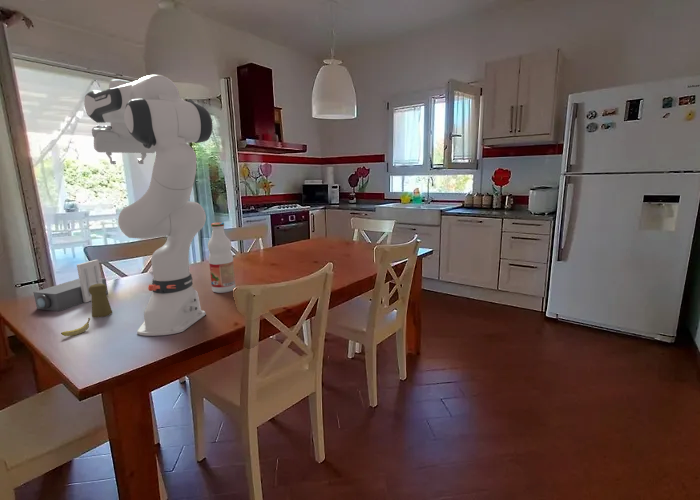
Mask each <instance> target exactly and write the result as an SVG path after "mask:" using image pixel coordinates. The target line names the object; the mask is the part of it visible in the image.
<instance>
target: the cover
mask: <svg viewBox="0 0 700 500" xmlns="http://www.w3.org/2000/svg"><path fill="white" fill-rule="evenodd" d="M76 269H77V274H78V279H79V280H80V286H81V291H82V296H83V303H89V302H92V295H91V294H90V293H89V287H90V286H91V285H94V284H103V283H102V278H103V277H102V273H101V267H100V261H99V259H94V260H90V261H85V262H82V263H77V264H76Z"/></svg>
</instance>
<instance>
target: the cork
mask: <svg viewBox="0 0 700 500" xmlns="http://www.w3.org/2000/svg"><path fill="white" fill-rule="evenodd" d="M107 290H108V286H107V287H106V285H105V284H94V285H91V286H90V287H89V293H90V294H91V295H92V301H91V317H92V318H103V317H107V316H110V315H112V314H113V310H112V308H111V305H110V301H109V299H108V296H107V294H106V291H107Z"/></svg>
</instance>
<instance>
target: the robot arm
mask: <svg viewBox="0 0 700 500" xmlns="http://www.w3.org/2000/svg"><path fill="white" fill-rule="evenodd" d="M83 101H84V102H83V105H84V110H85V111H86V114H87V116H88V117H89V118H90V119H91V120H93V122H94V123H95V122H96V123H99V124H103V123H104V124H105V123H106V124H107V123H110V125H96V126H94V127H92V129H91V134H92V137H93V148H94V150H95V151H96V152H97V153H105V154H106V155H107V157H108V159H109V161H110V165H116V163H117V161H116V159H115V158H112V155H113V154H112V153H118V154H122V153H125V154H127V153H128V154H140V155H141V157H140V158H137V161H138V162H137V163H138V164H139V165H144V160H145V158H146V157H147V154H155V159H154V164H153V167H152V174H151V178H150V183H149V186H148V189H147V190H146V192H145V193H144V194H143V195H142V196H141V197H140V198H139V199H138V200H136V201H134V202H133V203H132V204H130V205H127V206H125V207H123V208H122V209H121V211H120V213H119V215H118V217H117V218H118V219H117V221H118V227H119V229H120V231H121V232H122V234H123V235H125V236H126V237H128V238H129V239H144V240H145V239H147V240H148V239H154V238H163V237H167V239H166V241H165V243H164V244H163V245H162V246H160V247H159V248H157V249H156V250H155V251H154V252H153V253H152V254H151V258H150V263H151V269H152V276H153V279H152V282H151V284H148V286H147V287H148V289H147V290H148V291H149V292H152V294H151V295H150V298H149V300H148V303H147V305H146V308H145V310H144V312H143V317H144V318H143V319H144V321H143V322H142V323H141V325H140V326H139V327H138V329H137V330H136V332H137V333H136V334H137V335H139V336H145V337H146V336H148V337H149V336H153V337H154V336H167V335H169V336H170V335H174V334H180V333H182V332H185V330H187V329H188V328H190V327H191V326H192V325H194V324H195V323H196V322H198V321H199V320H200V319H202V318H203V317H205V315H206V311H205V310H202V307H201V302H200V297H199V292H198V291H197V290H196V289H195V288H194V286H193V284H194V283H193V277H192V274H191V272H190V271H191V269H190V258H189V257H190V247H191V244H192V242H193V239H194V238H195V236H196V235H197V234H198V233H199V232H200V231H201V230H202V229H203V228H204V226H205V224H206V220H207V215H206V211H205V209H204V207H203V206H202V205H201V204H200V203H198V202H196V201H190V198H191V195H192V191H193V188H194V187H193V186H194V184H195V179H196V175H197V174H196V173H197V154H196V152H195V150H194V148H193V147H192V146H190V145H189V143H194V144H201V143H205V142H207V141H208V140H210V138H211V136H212V133H213V119H212V116H211V113H210V112H209V111H208V110H207V109H206V108H205V107H204V106H202V105H200V104H198V103H196V102H195V101H194V100H192V99H188V100H184V99H182V98H181V97H180V93H179V88H178V87H177V85H176V84H175V82H174V81H173V80H171V79H170V78H169V77H167V76H164V75H162V74H150V75H146V76H142V77H140V78H139V79H138V80H134V81H130V80H125V79H111V80H110V81H109V83H108V88H107V89H104V90H97V89H91V90H90V91H88V92H87V93H86V94H85V96H84V100H83Z"/></svg>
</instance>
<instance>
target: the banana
mask: <svg viewBox="0 0 700 500" xmlns="http://www.w3.org/2000/svg"><path fill="white" fill-rule="evenodd" d="M90 320H91V317H88V319H87V322H86V323H85V324H84V325H82V326H81V327H79V328H76V329H72V330H66V331H62V332H61V333H60V334H61V335H62V336H64V337H72V336H77V335H80V334H82V333H84V332H86V331H87V330H88V329H89V328H90V324H89V322H90Z"/></svg>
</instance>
